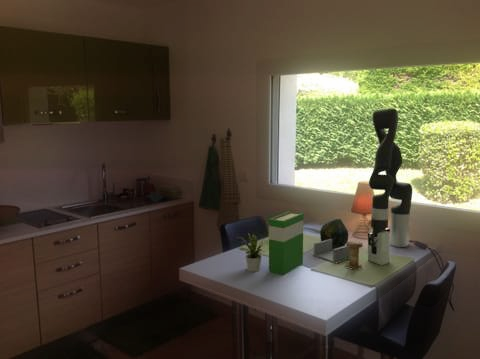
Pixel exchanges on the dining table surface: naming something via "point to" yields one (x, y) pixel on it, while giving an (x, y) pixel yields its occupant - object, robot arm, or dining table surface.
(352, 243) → the bobbin
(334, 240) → the squash
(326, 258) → the notch cradle
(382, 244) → the skincare box
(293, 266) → the hardback book
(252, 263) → the house plant
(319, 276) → the dining table surface
